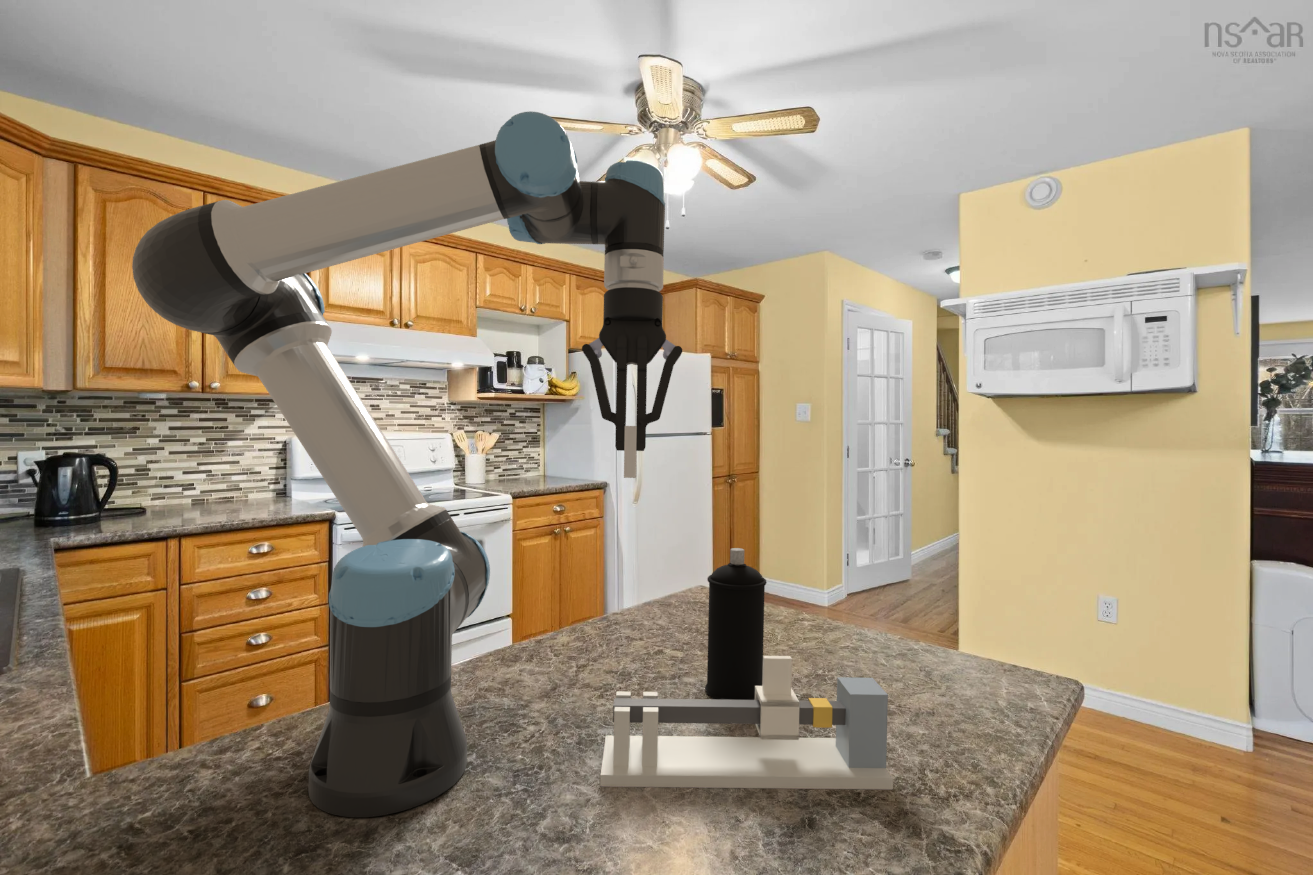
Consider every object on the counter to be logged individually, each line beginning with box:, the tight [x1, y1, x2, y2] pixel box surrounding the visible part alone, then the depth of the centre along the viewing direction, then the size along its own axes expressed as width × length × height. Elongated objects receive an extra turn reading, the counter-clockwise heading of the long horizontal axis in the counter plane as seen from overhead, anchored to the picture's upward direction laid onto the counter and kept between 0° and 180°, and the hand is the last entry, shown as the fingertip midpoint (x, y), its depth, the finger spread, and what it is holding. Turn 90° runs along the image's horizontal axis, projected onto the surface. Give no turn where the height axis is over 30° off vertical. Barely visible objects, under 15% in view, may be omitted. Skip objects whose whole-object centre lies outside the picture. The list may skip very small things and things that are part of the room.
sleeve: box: [754, 655, 800, 740], centre depth 66 cm, size 4×4×8 cm
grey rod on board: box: [599, 676, 894, 791], centre depth 66 cm, size 30×8×9 cm, turn 91°
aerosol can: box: [704, 547, 768, 700], centre depth 85 cm, size 8×8×20 cm
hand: (630, 476), depth 78 cm, fingers closed
